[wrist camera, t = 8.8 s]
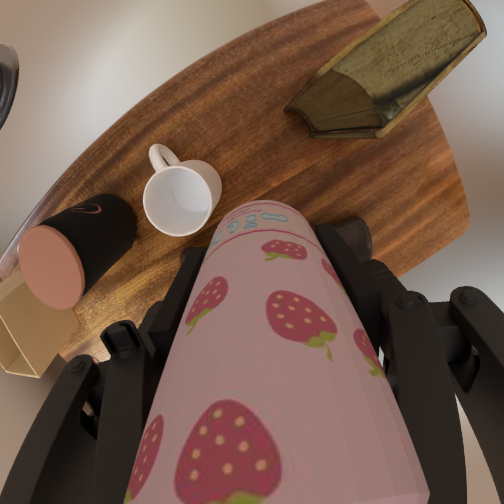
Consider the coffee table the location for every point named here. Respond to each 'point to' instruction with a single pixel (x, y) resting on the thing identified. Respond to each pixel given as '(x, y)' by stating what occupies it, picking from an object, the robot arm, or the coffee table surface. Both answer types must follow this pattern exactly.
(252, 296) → the beverage can
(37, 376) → the carton
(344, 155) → the coffee table surface
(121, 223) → the coffee jar
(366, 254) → the dark brown bone
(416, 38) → the book
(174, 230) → the mug
